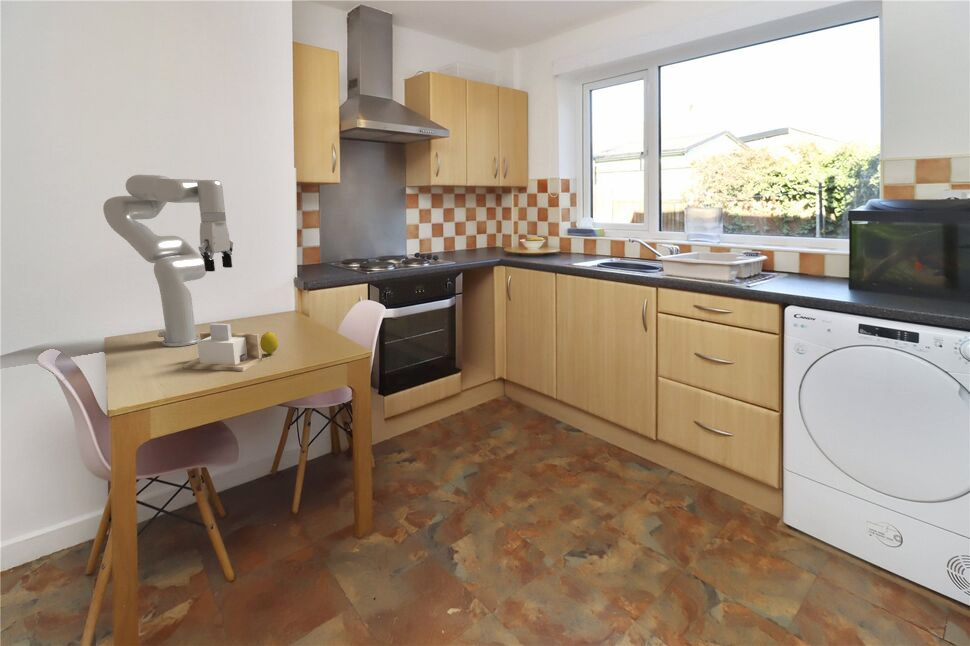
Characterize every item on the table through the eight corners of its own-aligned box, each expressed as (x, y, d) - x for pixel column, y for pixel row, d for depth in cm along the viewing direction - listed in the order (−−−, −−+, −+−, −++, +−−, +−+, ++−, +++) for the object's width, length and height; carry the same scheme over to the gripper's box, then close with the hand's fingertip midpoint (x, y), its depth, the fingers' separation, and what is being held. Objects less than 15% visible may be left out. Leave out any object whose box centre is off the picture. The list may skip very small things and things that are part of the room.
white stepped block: (199, 363, 172) (195, 326, 169) (213, 356, 179) (209, 321, 176) (235, 364, 170) (231, 327, 168) (247, 358, 177) (243, 322, 174)
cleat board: (183, 368, 171) (180, 340, 169) (205, 358, 181) (202, 332, 179) (243, 371, 168) (240, 342, 166) (262, 360, 179) (259, 334, 177)
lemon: (272, 351, 189) (270, 329, 187) (282, 353, 186) (280, 331, 184) (258, 355, 185) (255, 332, 183) (268, 357, 182) (265, 334, 180)
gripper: (218, 217, 190) (224, 265, 194) (185, 219, 174) (192, 272, 177) (238, 217, 189) (243, 266, 193) (207, 219, 173) (213, 273, 176)
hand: (219, 269), depth 185 cm, fingers open, 9 cm apart
